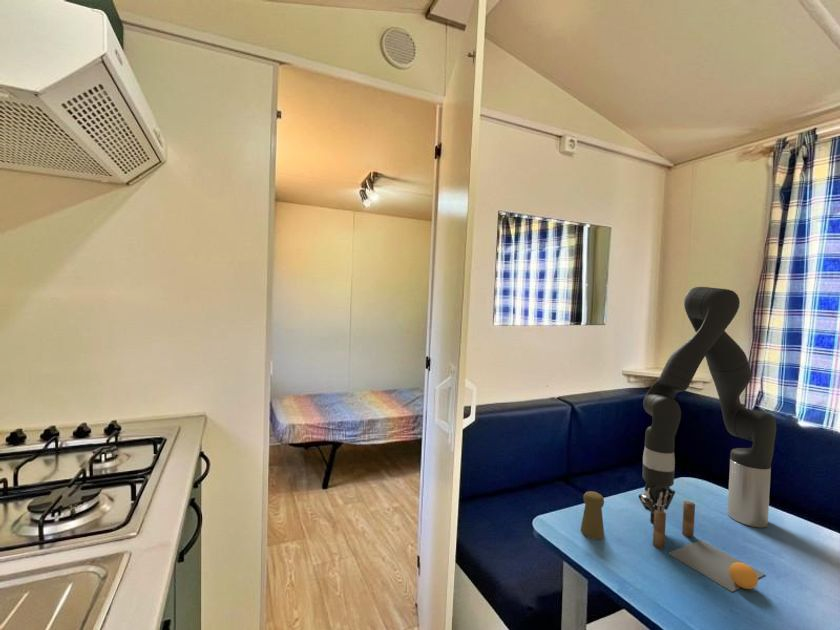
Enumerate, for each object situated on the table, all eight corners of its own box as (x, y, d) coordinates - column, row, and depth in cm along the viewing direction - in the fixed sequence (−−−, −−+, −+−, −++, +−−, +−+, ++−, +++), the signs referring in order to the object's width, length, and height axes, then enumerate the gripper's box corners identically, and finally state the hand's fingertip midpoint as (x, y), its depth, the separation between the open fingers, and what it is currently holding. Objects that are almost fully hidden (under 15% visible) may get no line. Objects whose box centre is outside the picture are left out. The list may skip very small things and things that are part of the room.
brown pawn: (607, 540, 101) (608, 500, 101) (583, 537, 102) (584, 497, 102) (601, 527, 107) (602, 489, 107) (578, 524, 108) (579, 487, 108)
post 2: (685, 531, 106) (687, 500, 106) (695, 536, 104) (697, 504, 104) (680, 533, 105) (681, 501, 105) (689, 538, 103) (691, 506, 103)
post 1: (656, 541, 101) (658, 509, 101) (666, 547, 99) (668, 514, 99) (650, 544, 100) (652, 510, 100) (660, 550, 98) (661, 516, 97)
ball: (767, 576, 83) (759, 593, 84) (745, 556, 88) (737, 573, 89) (749, 578, 82) (741, 595, 83) (727, 557, 87) (720, 574, 88)
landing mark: (701, 540, 102) (701, 539, 102) (765, 574, 89) (765, 574, 89) (668, 553, 96) (668, 552, 96) (732, 592, 84) (732, 591, 84)
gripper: (660, 456, 112) (657, 513, 113) (630, 462, 107) (627, 522, 107) (686, 466, 105) (684, 527, 106) (656, 474, 100) (653, 537, 100)
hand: (655, 524), depth 107 cm, fingers closed
